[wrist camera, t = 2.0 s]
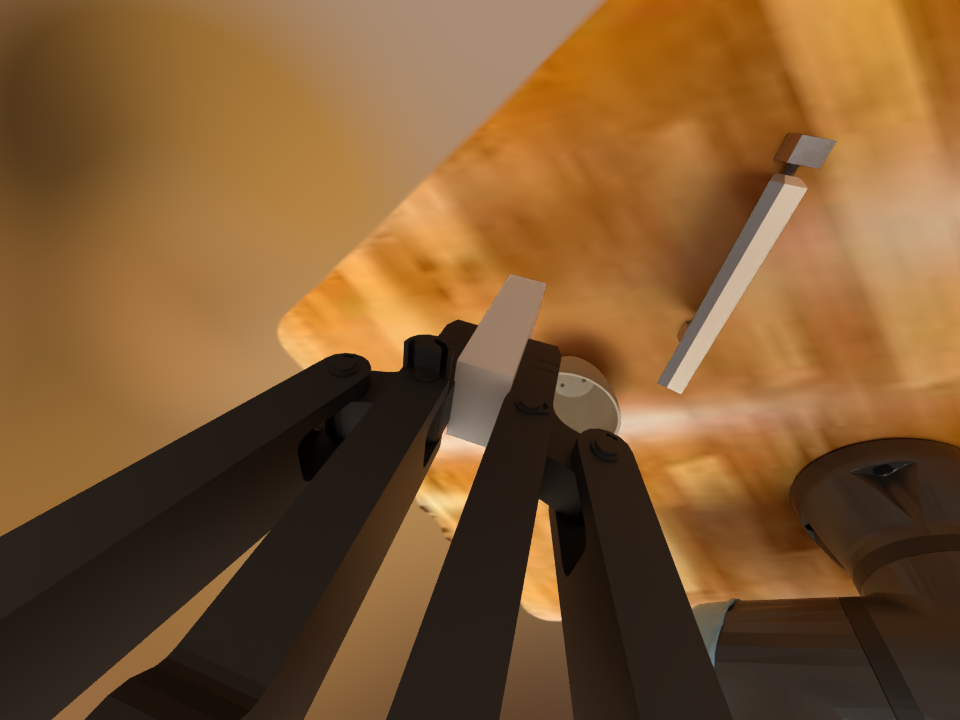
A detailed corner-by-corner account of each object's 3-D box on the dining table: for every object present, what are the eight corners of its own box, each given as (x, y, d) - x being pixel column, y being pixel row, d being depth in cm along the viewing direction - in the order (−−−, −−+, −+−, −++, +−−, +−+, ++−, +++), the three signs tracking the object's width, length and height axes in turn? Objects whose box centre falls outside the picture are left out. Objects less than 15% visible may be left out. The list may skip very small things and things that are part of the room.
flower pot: (588, 318, 37) (584, 355, 31) (636, 392, 39) (641, 439, 34) (507, 359, 42) (491, 397, 36) (555, 422, 45) (547, 467, 39)
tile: (775, 172, 26) (800, 178, 25) (691, 323, 32) (709, 330, 32) (769, 180, 17) (807, 188, 16) (657, 383, 24) (681, 394, 23)
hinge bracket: (819, 139, 25) (836, 140, 23) (699, 342, 35) (704, 355, 33) (787, 133, 26) (802, 134, 24) (677, 336, 35) (681, 349, 33)
